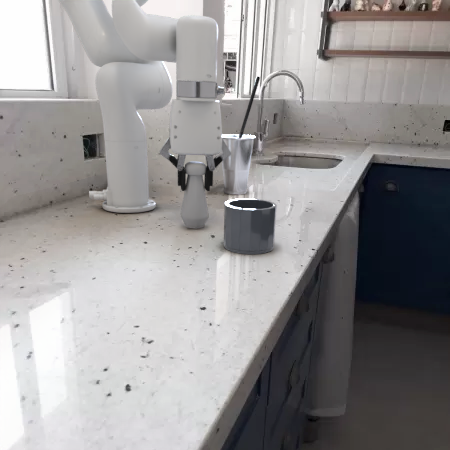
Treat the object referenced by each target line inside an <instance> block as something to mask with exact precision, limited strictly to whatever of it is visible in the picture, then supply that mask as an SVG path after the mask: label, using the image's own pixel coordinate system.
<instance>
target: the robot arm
mask: <svg viewBox="0 0 450 450" xmlns="http://www.w3.org/2000/svg"><path fill="white" fill-rule="evenodd" d="M57 1H58V2H59V3H60V5H61V7H62V8H63V9H64V11H65V13H66V14H67V16H68V18H69V20H70V22H71V24H72V27H73V29H74V31H75V33H76V35H77V37H78V39H79V42H80V43H81V45H82V48H83V51H84V52H85V54H86V56H87V57H88V59H89V61H90V62H91V63H92V64H93V65H94V66H96V67H98V70H97V72H96V75H95V81H94V82H95V84H94V85H95V90H96V95H97V99H98V104H99V107H100V108H99V109H100V112H101V119H102V126H103V140H104V152H105V166H106V167H105V168H106V181H107V186H106V189H102V190H101V191H100V190H98V191H97V190H89V191H88V196H89V197H88V198H89V200H93V201H103V202H102V205H101V206H102V209H103V210H104V211H106V212H107V211H108V212H110V213H120V214H135V213H144V212H148V211H153V210H154V209H155V208H156V207H157V205H156V201H155V200H153V199H151V198H150V191H149V190H150V189H149V165H148V140H147V139H148V138H147V129H146V126H145V123H144V121H143V119H142V117H141V116H140V114H139V112H138V110H160V109H163V108H165V107H166V106H168V105H169V103H171V104H170V112H169V127H168V129H169V130H168V138H167V139H166V140H165V142H164V143H163V145H162V146H161V148H160V150H159V154H160V155H161V157H163V158H164V159H166V160H167V161H168V162H170V164H172V165H173V166H174V168H176V169H177V186H178V187H180V190H181V192H185V190H186V181H187V174H186V171H185V169H184V168H185V161H186V156H205V162H206V173H205V174H204V176H203V182H204V188H205V191H206V192H210V191H211V187H213V186H214V171H215V170H216V168H217V167H218V166H219V165H220V164H222V161H223V160H225V159H226V158H228V157H229V156H230V155H231V152H230V150H229V149H228V147H227V145H226V144H225V142H224V140H223V139H222V135H223V123H222V109H221V103H220V100H217V98H218V96H219V95H224V94H225V87H224V86H221V85H219V84H218V82H217V78H218V77H217V76H218V46H219V45H218V44H219V43H218V41H219V26H218V23H217V21H216V20H215V18H212V17H211V16H205V15H195V14H194V15H193V14H191V15H184V16H180V17H179V18H175V17H172V16H171V17H170V16H166V15H165V16H164V15H158V14H151V13H146V12H145V11H144V10H143V8H141V7H143V6H144V5H145V4H146V3H148V1H149V0H111V13H110V12H109V10H108V8H107V5H106V3H105V2H104V1H103V0H57ZM165 62H166V63H176V64H175V66H176V67H175V73H176V76H175V78H176V79H175V80H176V82H175V84H176V85H175V89H176V90H175V91H176V92H175V95H176V98H173V82H172V78H171V75H170V73H169V71H168V68H167V66H166V64H165ZM170 150H171V152H172V153H173V154H175V155H177V157H176V156H175V155H173V154H172V153H170ZM221 150H222V153H221ZM214 156H215V157H214Z"/></svg>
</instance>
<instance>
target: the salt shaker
mask: <svg viewBox="0 0 450 450" xmlns="http://www.w3.org/2000/svg"><path fill="white" fill-rule="evenodd" d="M206 166H207V164H205V163H204V162H202V161H197V160H196V161H188V162H186V163H184V169H185V171H186V190H185V191H183V192H184V193H183V198H182V203H181V210H180V218H181V220H182V222H183V225H184V226H185V227H186V228H189V229H202V228H204V227H205V225H206V222H207V221H208V219H209V216H210V215H209V207H208V201H207V195H206V190H205V188H204V176H205V173H206Z"/></svg>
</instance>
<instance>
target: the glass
mask: <svg viewBox="0 0 450 450" xmlns="http://www.w3.org/2000/svg"><path fill="white" fill-rule="evenodd" d="M260 80H261V77H260V76H256V77H255V82H254V85H253V88H252V90H251V95H250V97H249V101H248V105H247V107H246V111H245V115H244V118H243V120H242V126H241V127H240V131H239V134H222V139H223V140H224V142H225V144H226V145H227V147H228V149H229V150H230V152H231V155H230V156H229V157H228V158H226V159H225V160H223V161H222V162H221V167H222V178H223V179H222V180H223V193H224V194H227V195H233V196H234V195H237V196H238V195H246V194H247V190H248V184H249V183H248V182H249V176H250V169H251V161H252V154H253V147H254V140H255V139H256V136H255V135H251V134H250V135H249V134H244V132H245V129H246V125H247V123H248V119H249V116H250V113H251V109H252V106H253V103H254V99H255V96H256V93H257V89H258V86H259V83H260ZM221 153H222V150H221V152H220V154H221Z"/></svg>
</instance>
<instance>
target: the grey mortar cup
mask: <svg viewBox="0 0 450 450" xmlns="http://www.w3.org/2000/svg"><path fill="white" fill-rule="evenodd" d="M277 207H278V205H277V203H275V202H274V201H270V200H267V199H260V198H235V199H230V200H227V201H225V202H224V210H223V211H224V213H223V214H224V215H223V247H224V249H225V250H227V251H229V252H232V253H235V254H242V255H261V254H267V253H270V252H272V251H273V250H274V247H275V237H276V223H277Z"/></svg>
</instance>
